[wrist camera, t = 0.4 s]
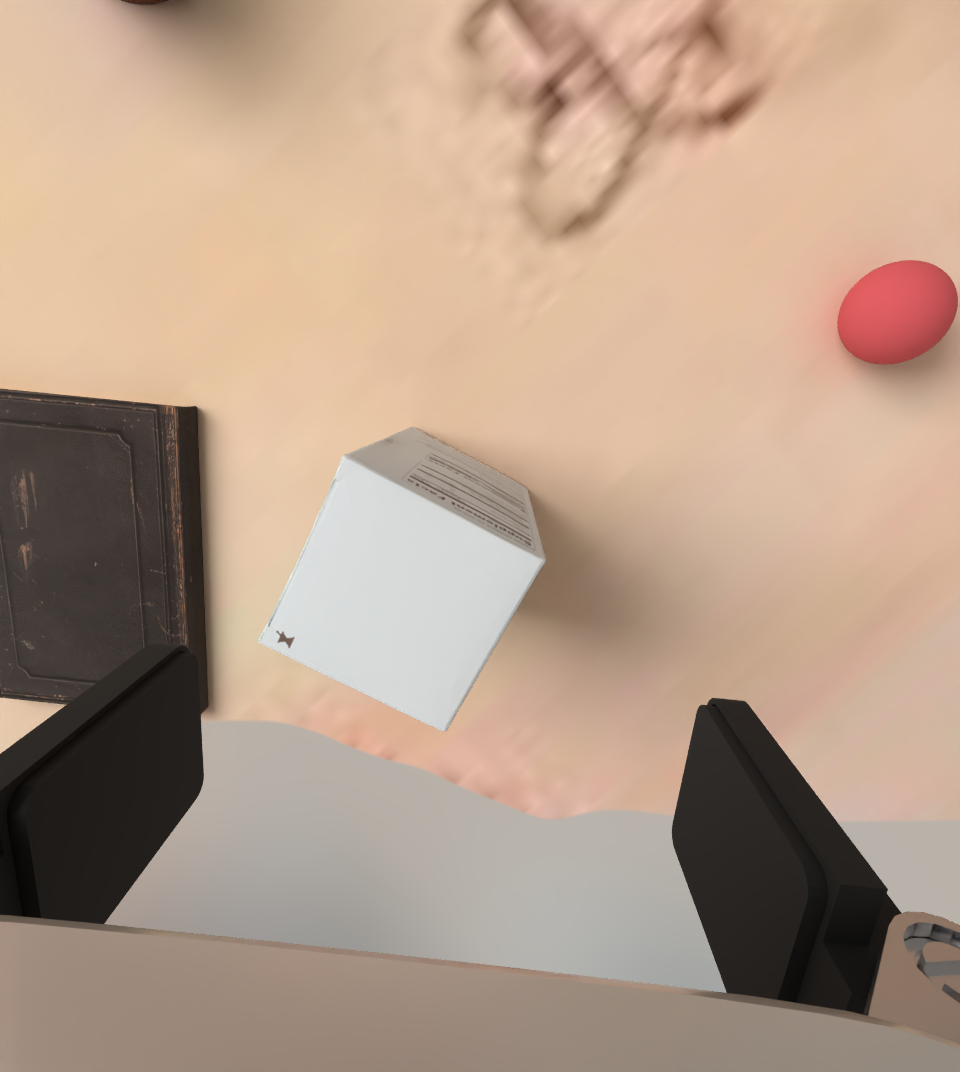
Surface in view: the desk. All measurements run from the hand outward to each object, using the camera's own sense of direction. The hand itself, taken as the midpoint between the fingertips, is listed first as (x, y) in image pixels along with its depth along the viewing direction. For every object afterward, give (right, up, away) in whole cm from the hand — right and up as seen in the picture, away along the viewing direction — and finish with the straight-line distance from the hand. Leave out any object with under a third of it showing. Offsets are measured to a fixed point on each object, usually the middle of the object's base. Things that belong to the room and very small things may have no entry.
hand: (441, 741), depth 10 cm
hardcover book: (-27, +3, +31) cm, 42 cm away
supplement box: (-2, +5, +29) cm, 30 cm away
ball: (+24, +16, +22) cm, 37 cm away
